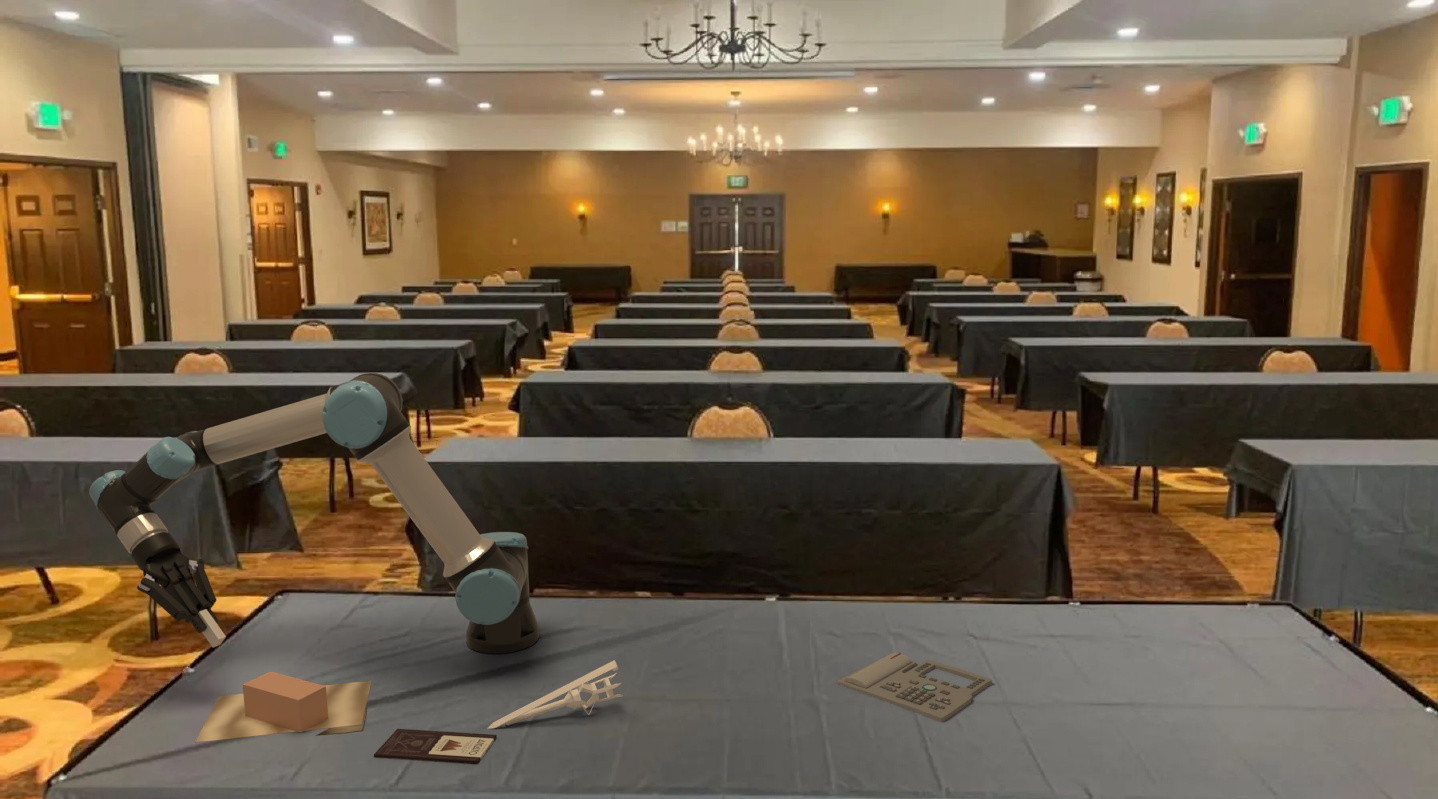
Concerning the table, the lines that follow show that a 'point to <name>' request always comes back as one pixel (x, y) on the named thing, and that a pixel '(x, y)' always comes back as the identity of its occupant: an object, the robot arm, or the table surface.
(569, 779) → the table surface
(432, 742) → the chocolate bar
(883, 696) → the office telephone
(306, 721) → the terracotta block
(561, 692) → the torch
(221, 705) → the birch board
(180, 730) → the table surface
